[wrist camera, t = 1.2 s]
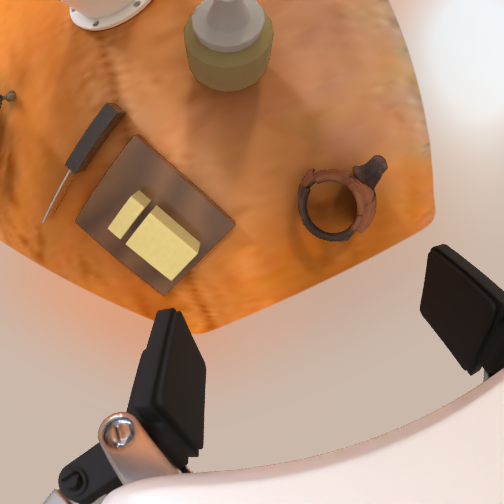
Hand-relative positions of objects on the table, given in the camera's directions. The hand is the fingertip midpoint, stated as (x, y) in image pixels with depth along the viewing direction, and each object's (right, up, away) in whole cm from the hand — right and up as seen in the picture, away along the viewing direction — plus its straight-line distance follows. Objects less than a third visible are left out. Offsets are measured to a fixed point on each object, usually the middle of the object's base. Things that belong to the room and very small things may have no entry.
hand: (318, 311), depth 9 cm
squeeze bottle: (-5, +23, +16) cm, 29 cm away
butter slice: (-16, +7, +21) cm, 28 cm away
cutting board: (-15, +6, +23) cm, 28 cm away
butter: (-13, +4, +23) cm, 27 cm away
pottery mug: (+8, +10, +24) cm, 27 cm away
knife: (-24, +13, +19) cm, 33 cm away
